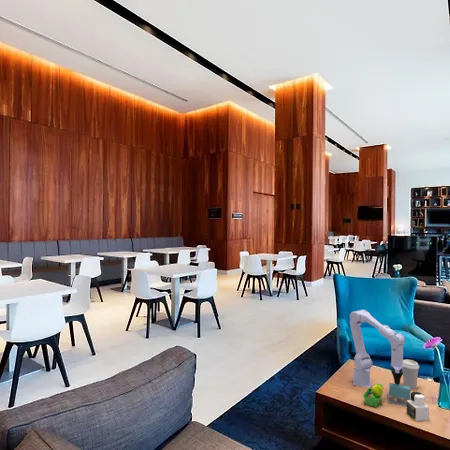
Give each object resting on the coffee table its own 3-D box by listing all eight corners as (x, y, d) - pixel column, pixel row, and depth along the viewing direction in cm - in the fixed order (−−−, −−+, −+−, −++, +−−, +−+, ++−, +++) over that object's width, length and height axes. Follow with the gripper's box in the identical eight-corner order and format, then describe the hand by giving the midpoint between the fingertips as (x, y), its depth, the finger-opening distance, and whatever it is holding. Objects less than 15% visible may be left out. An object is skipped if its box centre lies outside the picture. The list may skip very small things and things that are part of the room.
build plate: (386, 403, 180) (386, 402, 180) (387, 395, 189) (387, 394, 189) (412, 408, 175) (412, 407, 175) (411, 400, 184) (411, 399, 184)
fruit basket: (368, 396, 187) (368, 376, 187) (385, 401, 182) (385, 381, 182) (362, 405, 178) (362, 384, 178) (380, 411, 173) (380, 389, 173)
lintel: (389, 394, 182) (389, 385, 182) (389, 391, 186) (389, 382, 186) (410, 399, 178) (410, 389, 178) (409, 395, 181) (409, 386, 181)
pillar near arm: (388, 400, 182) (388, 394, 182) (389, 397, 186) (389, 391, 186) (397, 402, 180) (397, 396, 180) (397, 398, 184) (397, 393, 184)
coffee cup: (422, 392, 192) (422, 366, 192) (404, 390, 194) (404, 365, 194) (415, 384, 202) (415, 359, 202) (398, 383, 203) (398, 358, 203)
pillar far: (401, 402, 180) (401, 397, 180) (401, 399, 183) (401, 394, 183) (409, 404, 178) (409, 399, 178) (409, 401, 181) (409, 395, 181)
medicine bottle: (406, 414, 170) (406, 390, 170) (419, 413, 170) (419, 389, 171) (415, 422, 163) (415, 397, 163) (429, 421, 163) (429, 396, 163)
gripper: (405, 362, 176) (405, 388, 176) (405, 353, 188) (405, 377, 188) (390, 360, 179) (390, 385, 179) (391, 351, 192) (391, 374, 192)
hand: (397, 381), depth 184 cm, fingers open, 7 cm apart
